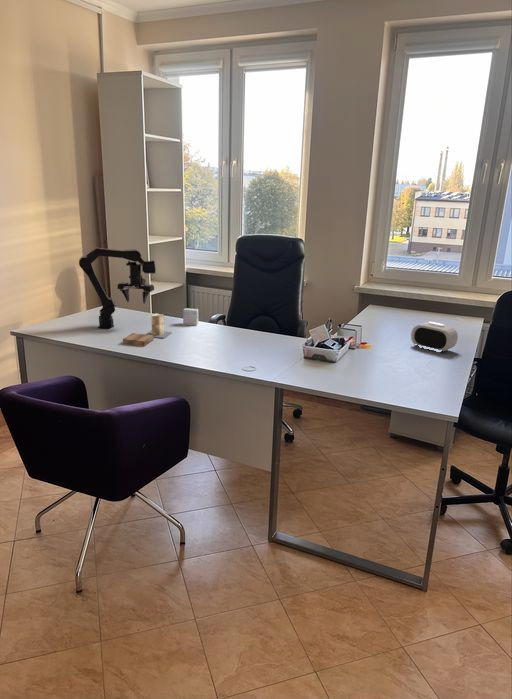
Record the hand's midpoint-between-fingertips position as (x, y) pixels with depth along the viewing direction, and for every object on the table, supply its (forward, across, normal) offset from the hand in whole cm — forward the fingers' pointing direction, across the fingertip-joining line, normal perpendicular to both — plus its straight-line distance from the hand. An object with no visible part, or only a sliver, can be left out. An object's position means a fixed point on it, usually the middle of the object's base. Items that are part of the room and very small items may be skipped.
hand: (136, 302), depth 271 cm
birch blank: (+12, -17, +12) cm, 24 cm away
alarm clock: (+13, -156, -12) cm, 157 cm away
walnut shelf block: (+13, -13, +27) cm, 33 cm away
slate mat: (+13, -17, +12) cm, 25 cm away
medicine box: (+13, -26, -14) cm, 32 cm away
